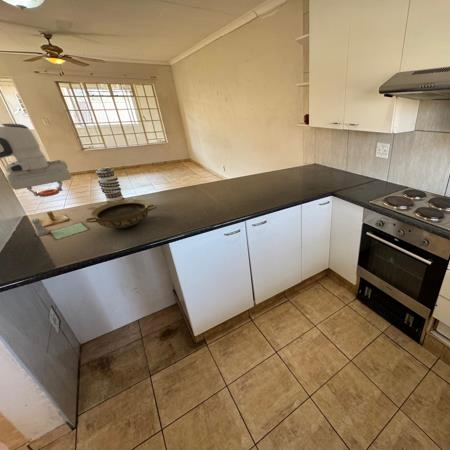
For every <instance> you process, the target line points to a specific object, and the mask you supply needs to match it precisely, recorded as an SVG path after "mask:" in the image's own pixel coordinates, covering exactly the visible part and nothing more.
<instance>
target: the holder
mask: <svg viewBox="0 0 450 450" xmlns="http://www.w3.org/2000/svg"><path fill="white" fill-rule="evenodd" d="M46 214H47V216H48V217H47V218H43V219H40V220H41V221H40V222H41V224H42V226H43V227H44V228H47V227H50V226H53V225H57V224H58V225H59V224H61V223H65V222H68V221H69V218H68V217H67V216H65V215H64V214H58V215H54V213H53V211H50V210H49V211H46Z"/></svg>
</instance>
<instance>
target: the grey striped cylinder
mask: <svg viewBox="0 0 450 450" xmlns="http://www.w3.org/2000/svg"><path fill="white" fill-rule="evenodd" d="M95 173H96V176H97V179H98V181H97V183H98V186H99V187H100V189H101V192H102V193H103V194H104V196H105V199H106V204H108V203H111V202H115V201H120V200H125V197H124V196H123V194H122V188H121V184H119V183H120V181H119V178H118V177H117V175H116V174H115V170H114V168H112V167H110V166H102V167H98V168H97V169H96V171H95Z"/></svg>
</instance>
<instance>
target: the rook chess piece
mask: <svg viewBox="0 0 450 450" xmlns="http://www.w3.org/2000/svg"><path fill="white" fill-rule="evenodd" d="M30 220H31V221H30V222H31V224H32V225H33V226H34V228H35V234H36V236H40V237H41V236H45V235H47V234H49V233H50V231H49V229H48V228H47V227H43V226H42V224H41V222H40V221H41V220H42V219H40V218H39V217H35V219H34V218H32V219H30Z"/></svg>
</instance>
